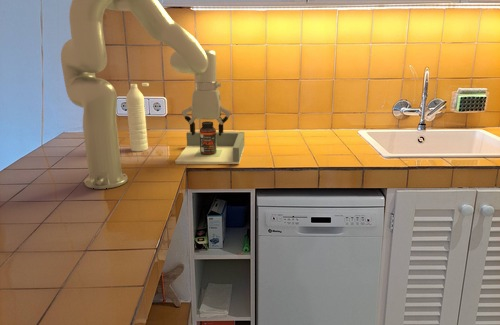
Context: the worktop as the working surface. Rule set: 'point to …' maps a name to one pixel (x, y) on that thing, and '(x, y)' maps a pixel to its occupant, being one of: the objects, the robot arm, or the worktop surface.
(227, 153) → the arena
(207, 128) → the supplement bottle
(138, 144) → the water bottle
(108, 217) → the worktop surface
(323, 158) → the worktop surface
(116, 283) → the worktop surface
